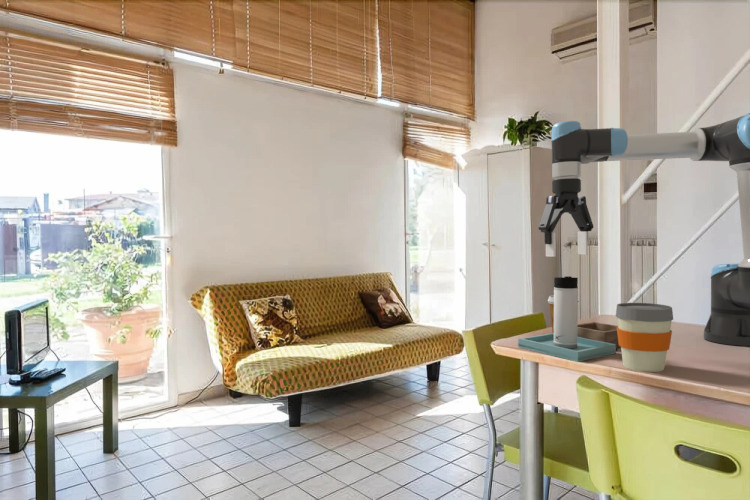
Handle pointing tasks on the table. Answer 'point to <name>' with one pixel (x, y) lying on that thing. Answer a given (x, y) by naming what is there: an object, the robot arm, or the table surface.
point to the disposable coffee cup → (552, 310)
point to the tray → (582, 352)
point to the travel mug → (565, 312)
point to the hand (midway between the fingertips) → (567, 255)
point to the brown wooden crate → (598, 332)
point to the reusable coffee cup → (644, 335)
